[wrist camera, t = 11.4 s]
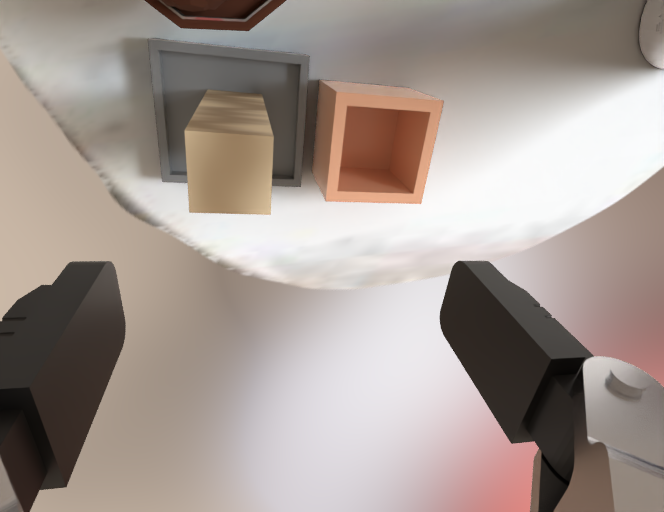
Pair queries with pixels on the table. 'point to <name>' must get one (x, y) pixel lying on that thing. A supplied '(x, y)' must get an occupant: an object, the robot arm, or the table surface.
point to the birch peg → (229, 154)
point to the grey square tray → (228, 75)
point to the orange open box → (373, 142)
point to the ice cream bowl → (216, 13)
